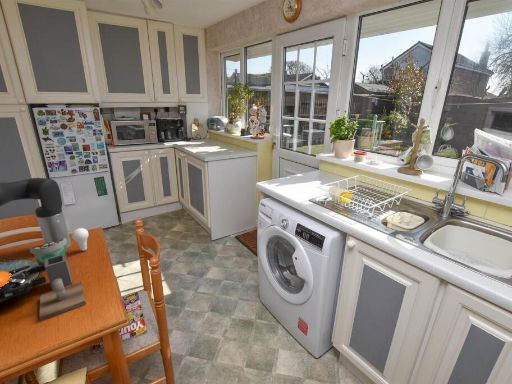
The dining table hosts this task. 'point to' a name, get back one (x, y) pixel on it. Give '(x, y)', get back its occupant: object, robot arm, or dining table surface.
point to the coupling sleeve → (58, 270)
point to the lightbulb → (81, 238)
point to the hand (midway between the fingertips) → (45, 272)
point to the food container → (49, 250)
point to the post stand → (61, 299)
